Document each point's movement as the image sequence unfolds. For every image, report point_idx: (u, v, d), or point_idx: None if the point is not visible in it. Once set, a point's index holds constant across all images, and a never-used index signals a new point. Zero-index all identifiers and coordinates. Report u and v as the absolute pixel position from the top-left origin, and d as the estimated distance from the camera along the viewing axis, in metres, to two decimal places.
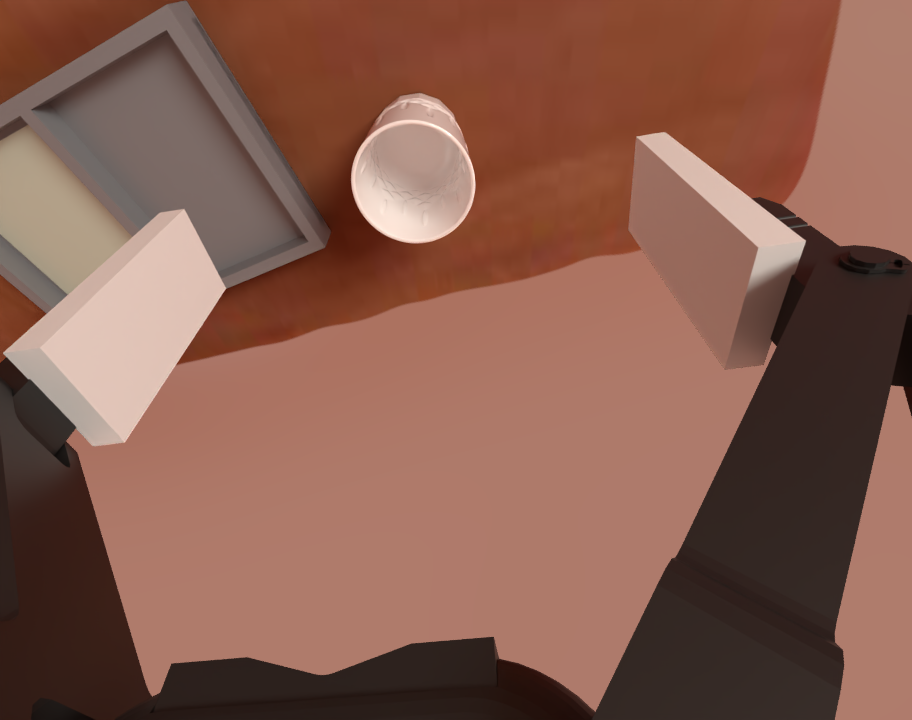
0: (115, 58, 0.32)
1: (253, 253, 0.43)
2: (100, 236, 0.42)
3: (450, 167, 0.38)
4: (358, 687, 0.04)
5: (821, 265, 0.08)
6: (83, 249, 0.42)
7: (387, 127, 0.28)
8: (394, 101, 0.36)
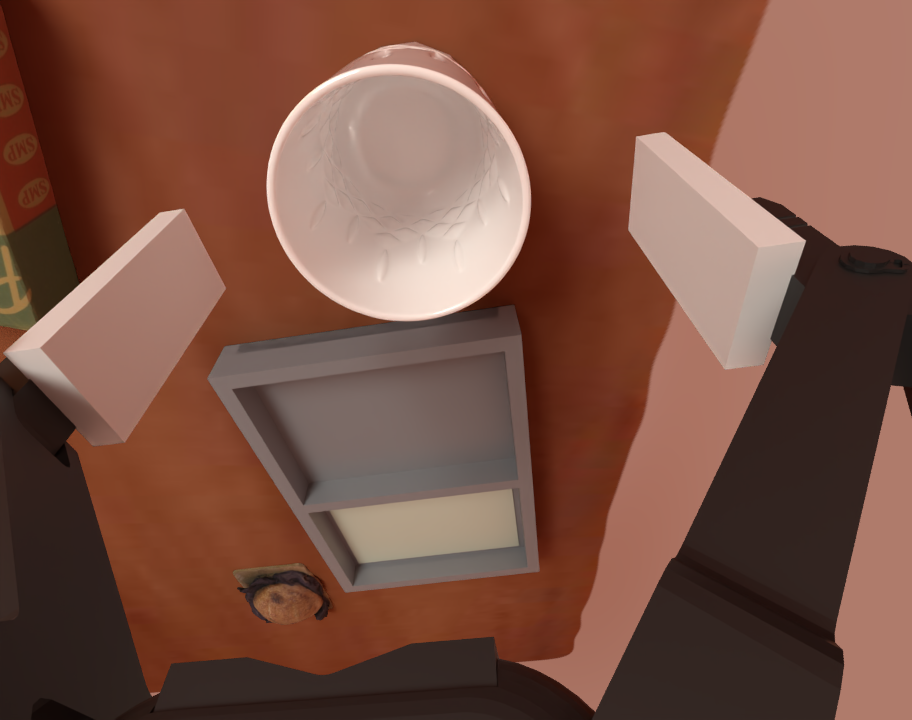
0: (260, 436, 0.31)
1: (504, 402, 0.32)
2: (436, 507, 0.40)
3: None
4: (358, 688, 0.04)
5: (821, 265, 0.08)
6: (445, 522, 0.41)
7: (279, 231, 0.15)
8: None
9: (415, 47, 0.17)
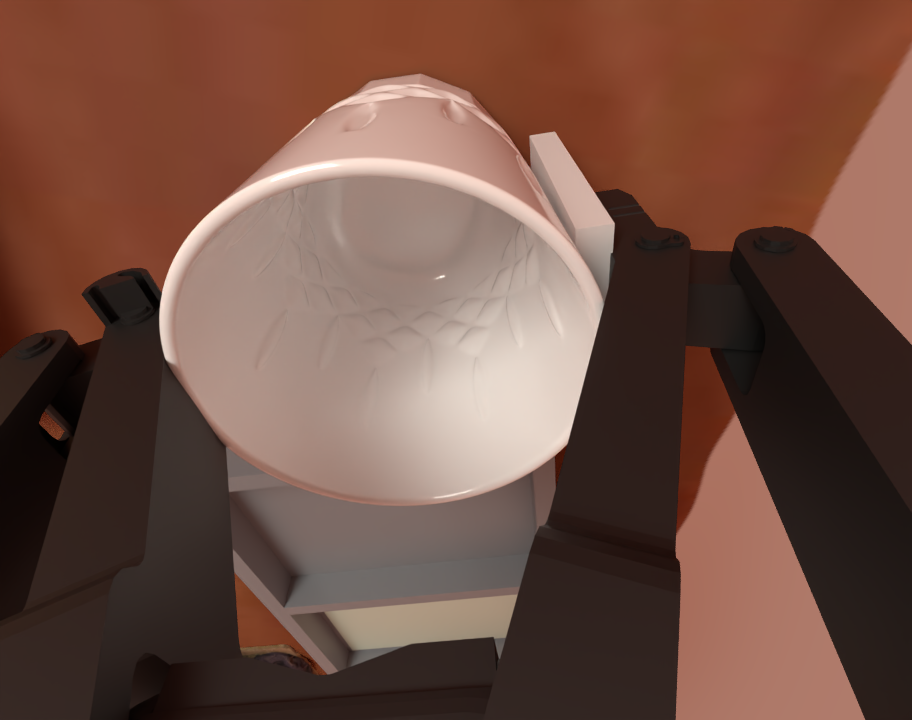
0: None
1: (526, 499, 0.27)
2: None
3: None
4: (358, 687, 0.04)
5: (623, 248, 0.09)
6: (452, 613, 0.35)
7: None
8: None
9: (419, 90, 0.11)
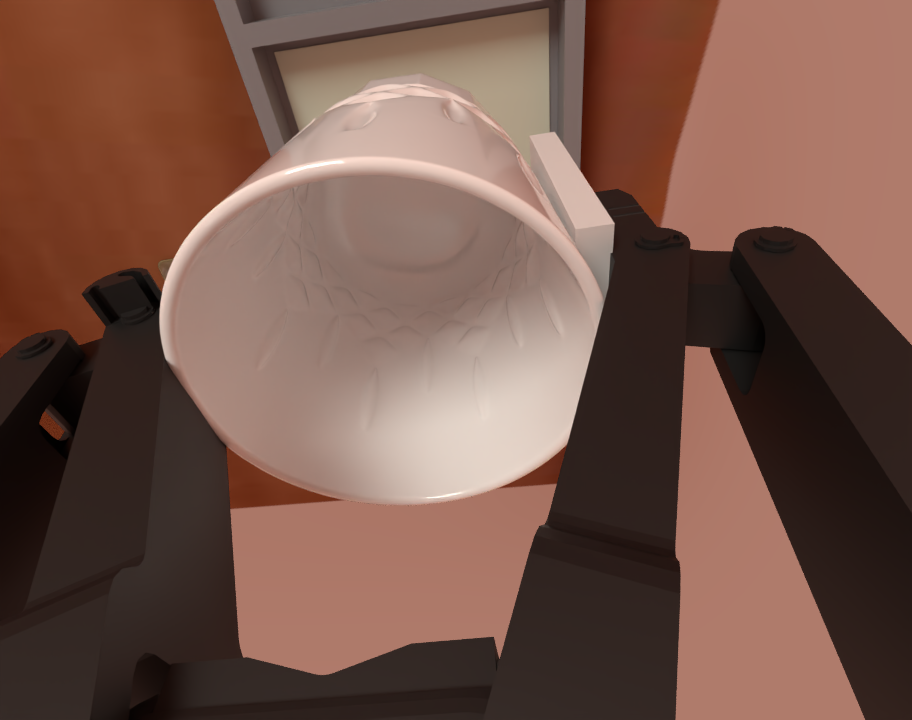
0: None
1: None
2: None
3: None
4: (358, 688, 0.04)
5: (622, 248, 0.09)
6: None
7: None
8: None
9: (419, 90, 0.11)
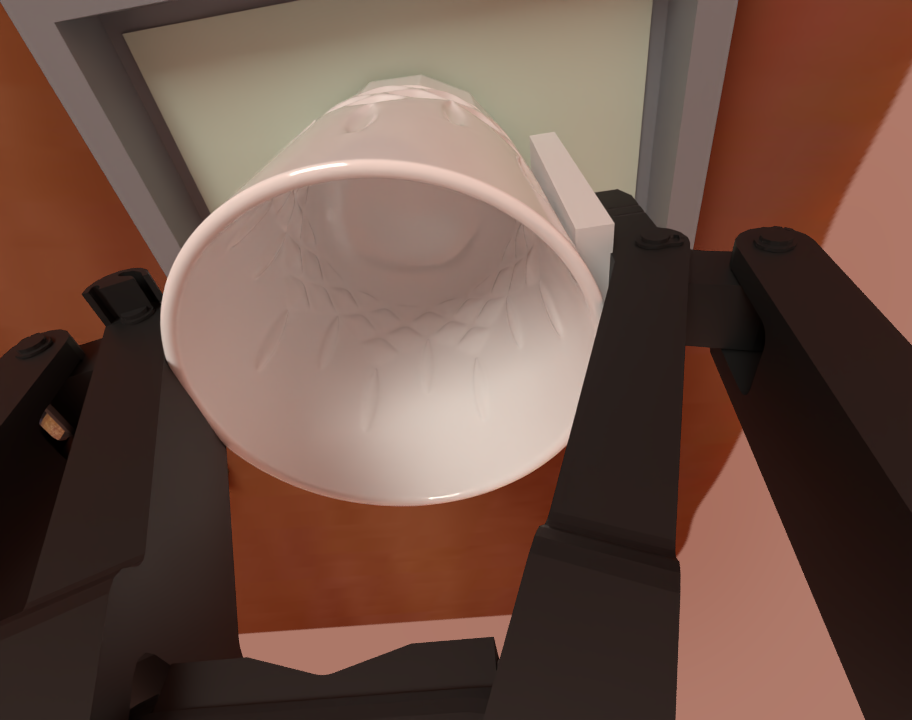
0: None
1: None
2: None
3: None
4: (358, 687, 0.04)
5: (622, 248, 0.09)
6: None
7: None
8: None
9: (419, 91, 0.11)
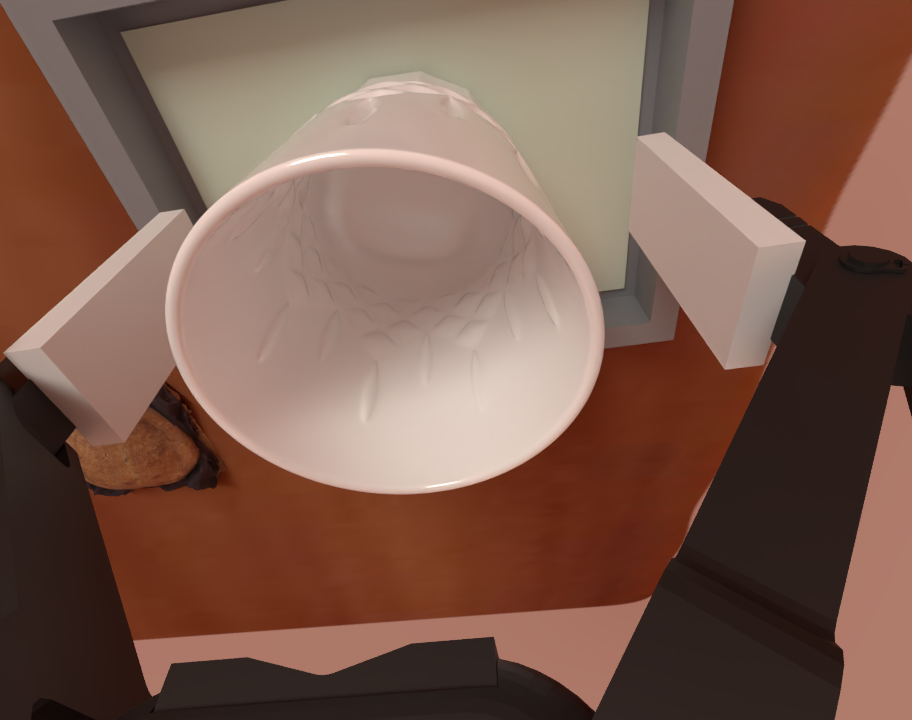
0: None
1: None
2: None
3: None
4: (359, 687, 0.04)
5: (821, 265, 0.08)
6: None
7: (196, 391, 0.09)
8: None
9: (418, 87, 0.12)
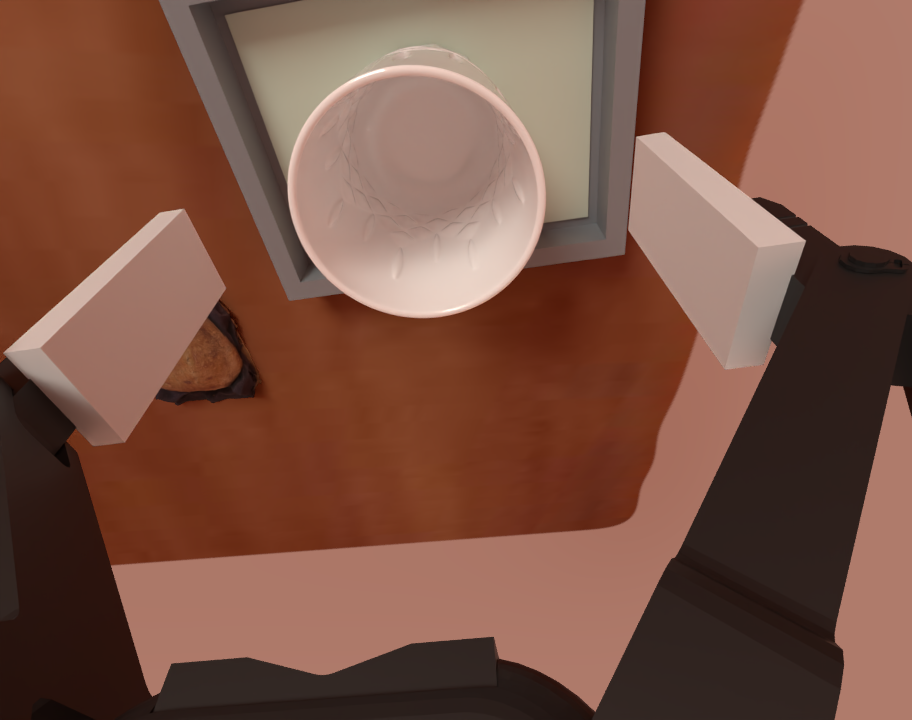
0: None
1: None
2: None
3: None
4: (358, 688, 0.04)
5: (821, 265, 0.08)
6: None
7: (298, 227, 0.15)
8: None
9: (433, 48, 0.17)
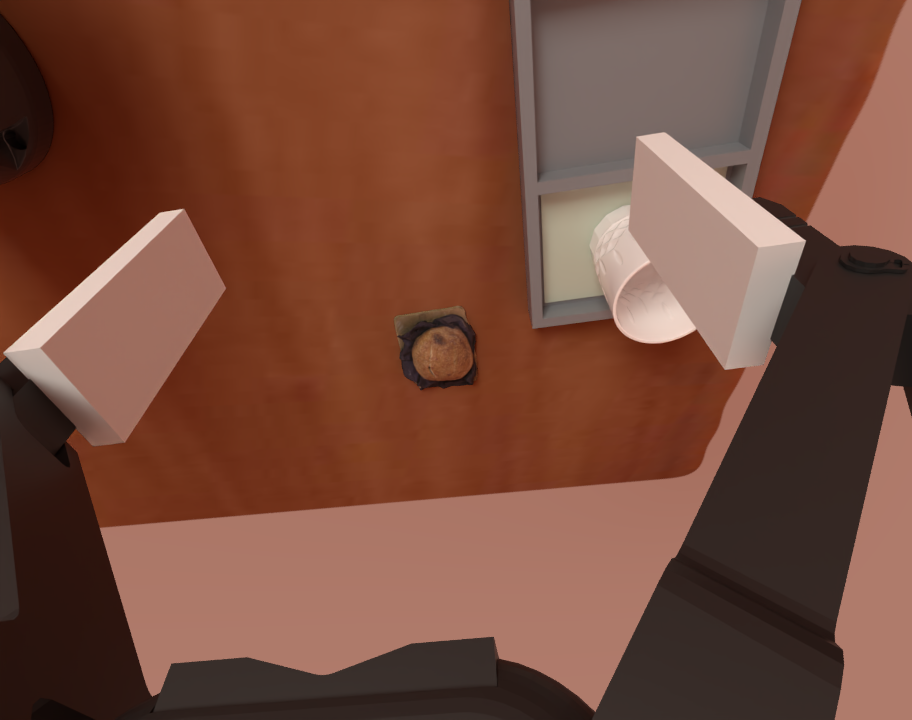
0: (531, 68, 0.33)
1: (753, 54, 0.34)
2: None
3: None
4: (358, 688, 0.04)
5: (821, 265, 0.08)
6: None
7: (615, 306, 0.35)
8: (591, 253, 0.42)
9: None
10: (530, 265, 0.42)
